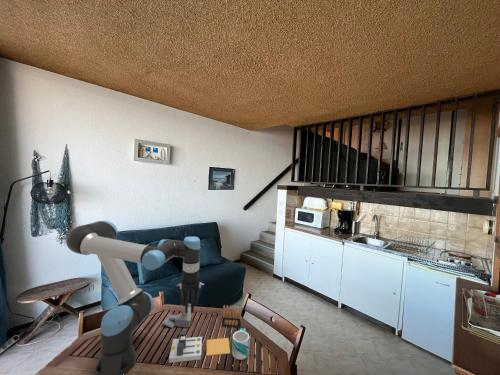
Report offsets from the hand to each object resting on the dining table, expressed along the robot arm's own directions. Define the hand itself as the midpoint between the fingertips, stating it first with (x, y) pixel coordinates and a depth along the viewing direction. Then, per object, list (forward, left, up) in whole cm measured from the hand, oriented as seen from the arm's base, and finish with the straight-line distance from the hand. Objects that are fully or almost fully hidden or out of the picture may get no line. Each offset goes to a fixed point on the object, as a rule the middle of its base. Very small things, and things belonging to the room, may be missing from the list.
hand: (189, 318), depth 107 cm
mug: (+25, -3, -16) cm, 30 cm away
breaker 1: (-3, +4, -13) cm, 14 cm away
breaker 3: (-3, -4, -13) cm, 14 cm away
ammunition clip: (+22, +15, -16) cm, 31 cm away
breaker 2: (-3, 0, -13) cm, 14 cm away
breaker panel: (-1, 0, -16) cm, 16 cm away
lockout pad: (+14, 0, -16) cm, 21 cm away
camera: (-7, +21, -16) cm, 27 cm away
